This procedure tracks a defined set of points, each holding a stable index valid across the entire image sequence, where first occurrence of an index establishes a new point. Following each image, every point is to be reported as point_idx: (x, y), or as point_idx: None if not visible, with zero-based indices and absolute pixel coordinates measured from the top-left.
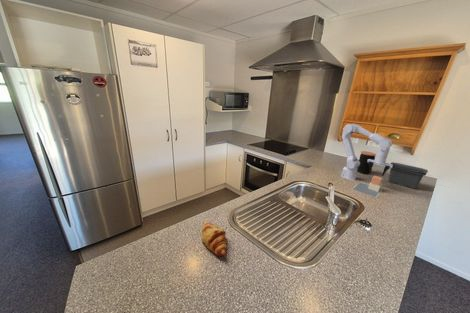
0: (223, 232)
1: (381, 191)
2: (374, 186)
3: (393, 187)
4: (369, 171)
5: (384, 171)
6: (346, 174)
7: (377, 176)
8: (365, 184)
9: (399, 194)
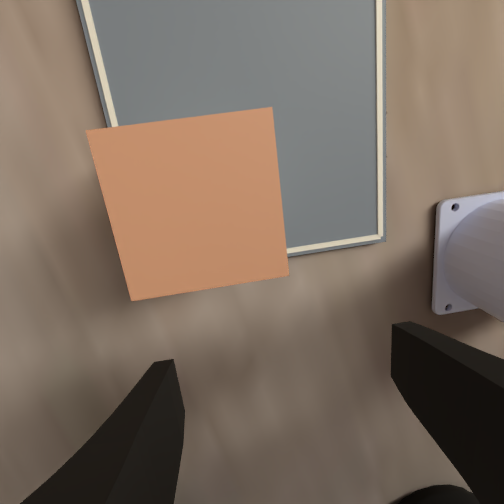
0: None
1: None
2: None
3: None
4: (422, 326)
5: (100, 455)
6: None
7: (226, 280)
8: (315, 226)
9: (4, 324)
